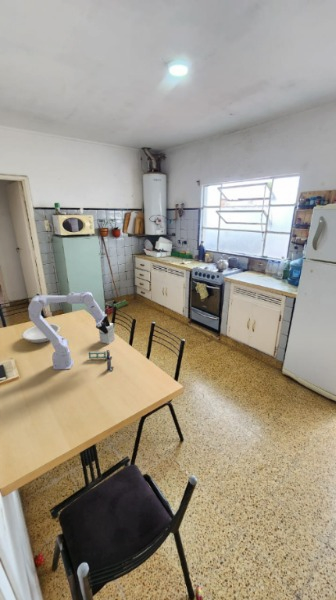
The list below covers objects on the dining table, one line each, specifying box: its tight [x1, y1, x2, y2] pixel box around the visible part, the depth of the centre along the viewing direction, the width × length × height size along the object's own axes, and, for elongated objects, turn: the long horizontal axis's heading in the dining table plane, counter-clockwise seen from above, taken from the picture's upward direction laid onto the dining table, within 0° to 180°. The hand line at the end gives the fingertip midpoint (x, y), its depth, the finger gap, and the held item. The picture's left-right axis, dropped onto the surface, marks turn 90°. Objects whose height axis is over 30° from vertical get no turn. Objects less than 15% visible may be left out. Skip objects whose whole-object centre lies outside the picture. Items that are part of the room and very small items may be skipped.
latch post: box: [106, 359, 114, 372], centre depth 142 cm, size 3×4×6 cm
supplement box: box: [98, 322, 116, 345], centre depth 171 cm, size 7×7×13 cm
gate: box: [88, 350, 107, 360], centre depth 152 cm, size 10×1×4 cm, turn 91°
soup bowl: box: [21, 323, 61, 344], centre depth 175 cm, size 24×24×7 cm
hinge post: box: [104, 349, 113, 362], centre depth 152 cm, size 4×4×6 cm
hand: (107, 329), depth 148 cm, fingers open, 7 cm apart
